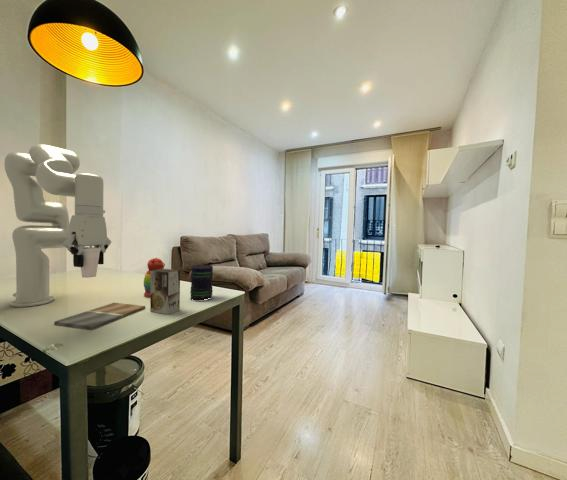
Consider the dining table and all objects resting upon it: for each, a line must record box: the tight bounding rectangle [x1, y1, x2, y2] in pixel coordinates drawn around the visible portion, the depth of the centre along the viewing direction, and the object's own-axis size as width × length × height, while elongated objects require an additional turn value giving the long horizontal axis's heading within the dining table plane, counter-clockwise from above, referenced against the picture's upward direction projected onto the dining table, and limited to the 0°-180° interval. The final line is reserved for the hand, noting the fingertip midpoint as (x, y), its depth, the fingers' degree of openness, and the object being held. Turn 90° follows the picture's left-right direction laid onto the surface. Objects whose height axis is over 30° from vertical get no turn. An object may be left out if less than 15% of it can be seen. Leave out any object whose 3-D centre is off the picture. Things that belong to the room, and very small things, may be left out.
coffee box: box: [149, 268, 181, 315], centre depth 96 cm, size 9×6×16 cm
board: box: [53, 302, 146, 330], centre depth 89 cm, size 15×22×1 cm
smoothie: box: [80, 246, 101, 279], centre depth 83 cm, size 6×6×14 cm
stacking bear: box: [143, 257, 166, 299], centre depth 118 cm, size 11×10×18 cm
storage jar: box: [189, 264, 214, 300], centre depth 115 cm, size 10×10×15 cm
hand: (89, 264), depth 83 cm, fingers closed on smoothie, 6 cm apart
